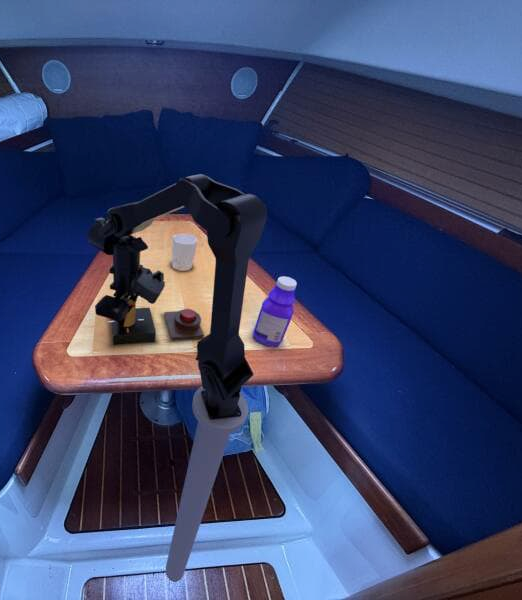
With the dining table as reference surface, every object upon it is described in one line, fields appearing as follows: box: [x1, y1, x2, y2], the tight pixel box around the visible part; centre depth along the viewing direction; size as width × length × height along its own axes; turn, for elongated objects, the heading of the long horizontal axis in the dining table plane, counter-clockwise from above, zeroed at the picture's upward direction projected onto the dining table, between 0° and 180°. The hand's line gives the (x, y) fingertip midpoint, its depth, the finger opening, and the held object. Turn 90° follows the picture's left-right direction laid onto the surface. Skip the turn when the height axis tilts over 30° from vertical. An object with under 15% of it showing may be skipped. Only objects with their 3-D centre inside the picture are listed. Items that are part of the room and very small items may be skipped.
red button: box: [181, 308, 197, 323], centre depth 80 cm, size 4×4×2 cm
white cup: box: [171, 233, 198, 272], centre depth 105 cm, size 8×8×10 cm
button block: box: [163, 309, 205, 342], centre depth 81 cm, size 10×8×3 cm
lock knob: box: [118, 299, 137, 327], centre depth 76 cm, size 4×4×5 cm
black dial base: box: [107, 307, 157, 346], centre depth 79 cm, size 10×11×3 cm
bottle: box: [253, 275, 298, 348], centre depth 75 cm, size 7×6×17 cm
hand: (125, 319), depth 77 cm, fingers closed on lock knob, 4 cm apart
